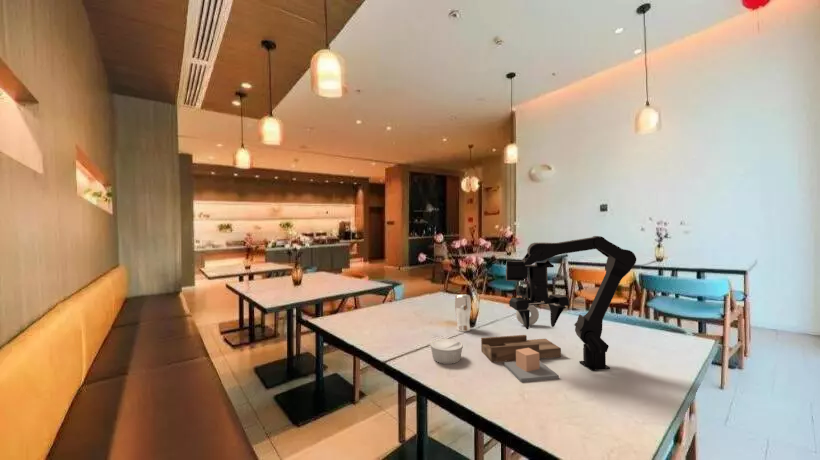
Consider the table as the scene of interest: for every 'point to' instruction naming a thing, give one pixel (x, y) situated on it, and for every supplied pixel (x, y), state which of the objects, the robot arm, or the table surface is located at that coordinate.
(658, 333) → the table surface
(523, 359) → the block
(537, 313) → the donut
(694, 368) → the table surface
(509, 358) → the divided wooden tray
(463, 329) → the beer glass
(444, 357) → the ramekin
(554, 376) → the mat
